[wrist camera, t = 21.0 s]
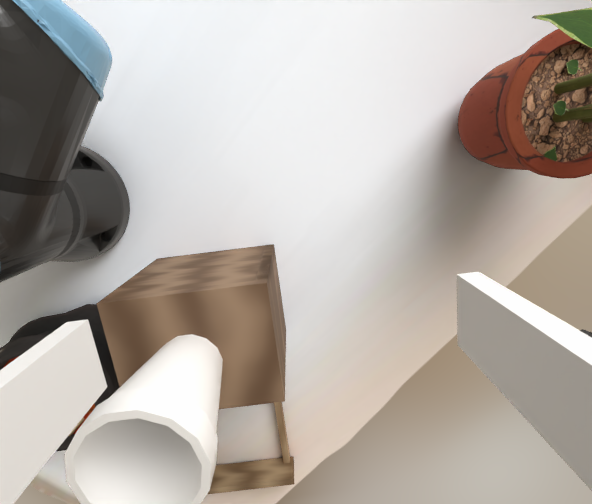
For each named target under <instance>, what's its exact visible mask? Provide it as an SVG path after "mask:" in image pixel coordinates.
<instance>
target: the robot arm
mask: <svg viewBox="0 0 592 504" xmlns="http://www.w3.org/2000/svg"><path fill="white" fill-rule="evenodd" d="M111 65H112V55H111V52H110V49H109V47H108V45H107V43H106V42H105V40H104V39H103V38H102V36H101V35H100V34H99V33H98V32H97V31H96V30H95V29H94V28H93V27H92V26H91V25H90V24H89V23H87V22H86V21H85V20H84V19H83V18H82V17H81V16H79V15H78V14H77V13H76V12H75V11H73V10H72V9H71V8H70V7H69V6H67V5H66V4H65V3H64V2H62V1H61V0H0V282H2V281H4V280H7V279H9V278H11V277H13V276H16V275H18V274H20V273H23V272H25V271H27V270H29V269H32V268H34V267H36V266H38V265H41V264H43V263H46V262H48V261H64V262H76V261H82V260H87V259H90V258H93V257H95V256H97V255H99V254H101V253H103V252H105V251H107V250H109V249H110V248H111V247H113V246H114V245H115V244H116V243H117V242H118V241H119V239H120V238H121V237H122V235H123V233H124V231H125V229H126V227H127V224H128V220H129V212H130V207H129V198H128V194H127V190H126V188H125V185H124V183H123V181H122V179H121V177H120V176H119V174H118V173H117V171H116V170H115V169H114V168H113V166H112V165H111V164H110V163H109V162H108V161H107V160H105V159H104V158H103V157H102V156H100V155H99V154H97V153H96V152H94V151H92V150H90V149H88V148H85V147H82V146H81V144H82V141H83V139H84V136H85V134H86V131H87V129H88V126H89V124H90V121H91V119H92V116H93V114H94V111H95V109H96V106H97V104H98V101H102V99H103V96H104V95H103V88H104V86H105V83H106V80H107V77H108V74H109V71H110V68H111ZM457 334H458V346H459V347H460V348H461V349H462V350H463V351H464V352H465V353H466V354H467V356H468V357H469V358H470V359H471V360H472V361H473V362H474V363H475V364H476V365H477V367H478V368H479V369H480V370H481V371H482V372H483V373H484V374H485V375H486V376H487V377H488V378H489V380H490V381H491V382H492V383H493V384H494V385H495V386H496V387H497V388H498V389H499V390H500V391H501V393H502V394H503V395H504V396H505V397H506V398H507V399H508V400H509V401H510V402H511V404H512V405H513V406H514V407H515V408H516V409H517V410H518V411H519V412H520V413H521V414H522V415H523V417H524V418H525V419H526V420H527V421H528V422H529V423H530V424H531V425H532V426H533V427H534V429H535V430H536V431H537V432H538V433H539V434H540V435H541V436H542V437H543V438H544V439H545V441H546V442H547V443H548V444H549V445H550V446H551V447H552V448H553V449H554V450H555V451H556V453H557V454H558V455H559V456H560V457H561V458H562V459H563V460H564V461H565V462H566V463H567V465H568V466H569V467H570V468H571V469H572V470H573V471H574V472H575V473H576V474H577V475H578V476H579V478H580V479H581V480H582V481H583V482H584V483H585V484H586V485H587V486H588V487H589V488H590V490H591V491H592V333H591V332H588V331H586V330H578V329H576V328H574V327H572V326H571V325H569V324H567V323H566V322H564V321H562V320H561V319H559V318H557V317H556V316H554V315H552V314H550V313H549V312H547V311H545V310H544V309H542V308H540V307H538V306H537V305H535V304H533V303H531V302H530V301H528V300H526V299H525V298H523V297H521V296H519V295H518V294H516V293H514V292H513V291H511V290H509V289H507V288H506V287H504V286H502V285H501V284H499V283H497V282H495V281H494V280H492V279H490V278H489V277H487V276H485V275H483V274H482V273H480V272H472V273H463V274H457ZM106 388H107V384H106V380H105V377H104V373H103V370H102V366H101V363H100V359H99V356H98V352H97V349H96V345H95V342H94V338H93V335H92V331H91V328H90V324H89V321H88V319H87V320H79V321H71V322H66V323H65V324H63V325H62V326H61V327H59V328H58V329H56V330H55V331H54V332H52V333H51V334H50V335H48V336H47V337H45V338H44V339H43V340H41V341H40V342H38V343H37V344H36V345H34V346H33V347H32V348H30V349H29V350H27V351H26V352H25V353H23V354H22V355H20V356H19V357H18V358H16V359H15V360H14V361H12V362H11V363H9V364H8V365H7V366H5V367H4V368H3V369H1V370H0V504H14V503H15V501H16V500H17V499H18V498H19V496H20V495H21V494H22V492H23V491H24V490H25V489H26V488H27V486H28V485H29V484H30V483H31V481H32V480H33V479H34V478H35V476H36V475H37V474H38V473H39V471H40V470H41V469H42V468H43V466H44V465H45V464H46V463H47V462H48V460H49V459H50V458H51V457H52V455H53V454H54V453H55V452H56V450H57V449H58V448H59V447H60V445H61V444H62V443H63V442H64V440H65V439H66V438H67V437H68V435H69V434H70V433H71V432H72V430H73V429H74V428H75V427H76V425H77V424H78V423H79V422H80V420H81V419H82V418H83V417H84V415H85V414H86V413H87V412H88V411H89V409H90V408H91V407H92V406H93V404H94V403H95V402H96V401H97V399H98V398H99V397H100V396H101V394H102V393H103V392H104V391H105V389H106Z"/></svg>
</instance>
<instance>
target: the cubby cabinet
mask: <svg viewBox="0 0 592 504" xmlns="http://www.w3.org/2000/svg"><path fill="white" fill-rule="evenodd" d="M97 307H98V311H99V314H100V318H101V322H102V325H103V329H104V332H105V336H106V340H107V343H108V347H109V350H110V354H111V358H112V361H113V365H114V368H115V372H116V376H117V379H118V383H119V386H120V387H121V386H122V385H123V384H124V383H125V382H126V381H127V380H128V379H129V378H130V377H131V376H132V375H133V374H134V373H135V372H136V371H138V370H139V369H140V368H141V367H142V366H143V365H144V364H145V363H146V362H147V361H148V360H149V359H150V358H151V357H152V356H153V355H154V354H155V353H156V352H157V351H158V350H159V349H161V348H162V347H163V346H164V345H165V344H166V343H167V342H169V341H171V340H172V339H174V338H175V337H177V336H182V335H190V334H193V335H196V336H200V337H203V338H206V339H208V340H209V341H210V342H211V343H212V344H214V345H215V346H216V347H217V348H218V350H219V353H220V355H221V357H222V359H223V362H222V378H221V389H220V400H219V409H224V408H233V407H241V406H249V405H258V404H266V403H275V402H283V401H285V353H286V327H285V320H284V313H283V306H282V299H281V292H280V285H279V278H278V270H277V263H276V256H275V249H274V244H273V245H265V246H257V247H249V248H241V249H232V250H224V251H216V252H208V253H200V254H192V255H184V256H176V257H168V258H160V259H156V260H155V261H154V262H152V263H151V264H150V265H148V266H147V267H145V268H144V269H143V270H141V271H140V272H139V273H137V274H136V275H135V276H133V277H132V278H131V279H129V280H128V281H127V282H125V283H124V284H123V285H121V286H120V287H118V288H117V289H116V290H114V291H113V292H112V293H110V294H109V295H108V296H106V297H105V298H104V299H102V300H101V301H100V302H98V303H97Z"/></svg>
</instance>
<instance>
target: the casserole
mask: <svg viewBox="0 0 592 504" xmlns="http://www.w3.org/2000/svg"><path fill="white" fill-rule="evenodd" d="M87 319H88V321H89V324H90V328H91V331H92V335H93V338H94V342H95V345H96V349H97V352H98V356H99V359H100V363H101V366H102V370H103V373H104V377H105V380H106V384H107V388H106V389H105V391H104V392H103V393H102V394H101V396H100V397H99V398H98V399H97V401H96V402H95V403H94V404H93V406H92V407H91V408H90V409H89V411H88V412H87V413H86V414H85V415H84V417H83V418H82V419H81V420H80V422H79V423H78V424H77V425H76V427H75V428H74V429H73V430H72V432H71V433H70V434H69V435H68V437H67V438H66V439H65V440H64V442H63V443H62V444H61V445H60V447H59V448H58V449H57V450H56V451H62V450H67V449H68V447H69V445H70V443H71V441H72V439H73V438H74V436H75V434H76V432H77V430H78V429H79V428H80V426H81V425H82V424H83V423H84V421H85V420H86V419H87V417H88V416H89V415H90V414H91V412H92V411H93V410H94V409H95V407H96V406H97V405H98V404H100V403H102V402H103V401H105V400H106V399H108V398H109V397H110V396H111V395H112V394H114V393H115V392H116V391H117V390H118V389H119V388H120V386H119V383H118V379H117V376H116V372H115V368H114V365H113V361H112V358H111V354H110V350H109V347H108V343H107V340H106V336H105V332H104V329H103V325H102V322H101V318H100V314H99V311H98V307H97V305H95V304H87V305H84V306H82V307H79V308H77V309H74V310H72V311H69V312H66V313H62V314H57V315H52V316H47V317H41V318H38V319H36V320H33V321H31V322H29V323H27V324H26V325H24V326H23V327H22V328H20V329H19V330H18V331H17V332H16V333H15V334H14V335H13V337H12V338H11V340H10V341H9V343H7V344H6V345H4V346H3V347H2V348H0V370H1V369H3V368H4V367H5V366H7V365H8V364H9V363H11V362H12V361H14V360H15V359H16V358H18V357H19V356H20V355H22V354H23V353H25V352H26V351H27V350H29V349H30V348H32V347H33V346H34V345H36V344H37V343H38V342H40V341H41V340H43V339H44V338H45V337H47V336H48V335H50V334H51V333H52V332H54V331H55V330H56V329H58V328H59V327H61V326H62V325H63V324H65V323H66V322H71V321H79V320H87Z"/></svg>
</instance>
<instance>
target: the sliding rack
mask: <svg viewBox="0 0 592 504" xmlns="http://www.w3.org/2000/svg"><path fill="white" fill-rule="evenodd" d="M274 406H275V412H276V418H277V425H278V431H279V437H280V443H281V450H282V456H283V458H276V459H267V460H259V461H250V462H242V463H233V464H225V465H216V466H215V470H214V475H213V479H212V483H211V487H210V491H209V492H208V494H214V493H222V492H231V491H239V490H248V489H257V488H265V487H274V486H282V485H291V484H294V460H293V457H290V454H289V447H288V441H287V434H286V428H285V421H284V415H283V408H282V402H275V403H274Z"/></svg>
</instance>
